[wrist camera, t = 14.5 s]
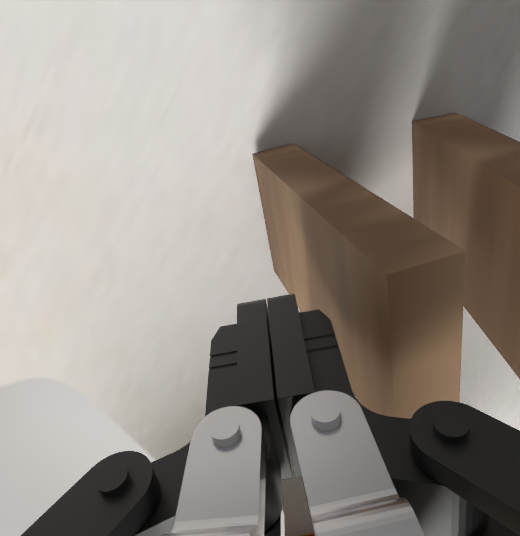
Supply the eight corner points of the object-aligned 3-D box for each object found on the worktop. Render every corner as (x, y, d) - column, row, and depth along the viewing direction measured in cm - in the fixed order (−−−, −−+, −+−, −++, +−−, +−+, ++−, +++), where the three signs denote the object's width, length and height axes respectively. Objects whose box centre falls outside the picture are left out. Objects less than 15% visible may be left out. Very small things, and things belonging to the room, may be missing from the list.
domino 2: (455, 113, 17) (687, 218, 8) (452, 235, 19) (629, 418, 11) (412, 121, 17) (596, 235, 8) (414, 241, 19) (558, 429, 11)
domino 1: (293, 143, 17) (465, 251, 9) (310, 260, 20) (457, 435, 11) (252, 153, 17) (387, 274, 8) (274, 270, 19) (396, 458, 11)
